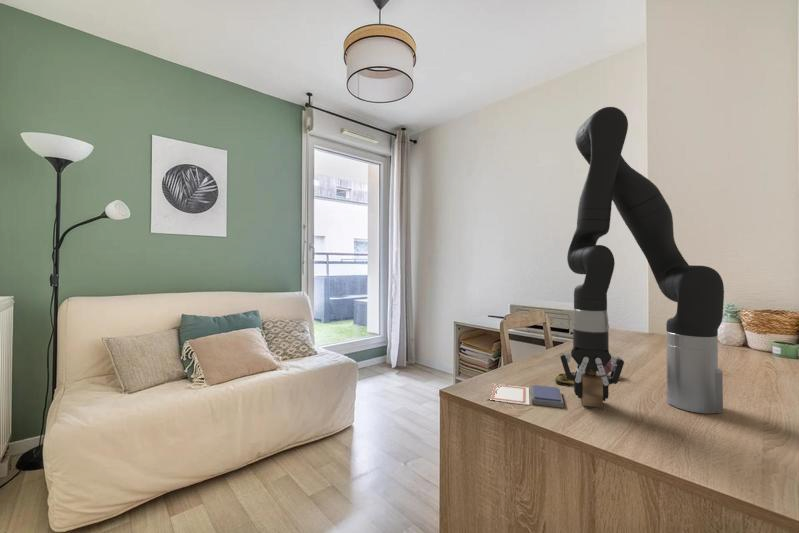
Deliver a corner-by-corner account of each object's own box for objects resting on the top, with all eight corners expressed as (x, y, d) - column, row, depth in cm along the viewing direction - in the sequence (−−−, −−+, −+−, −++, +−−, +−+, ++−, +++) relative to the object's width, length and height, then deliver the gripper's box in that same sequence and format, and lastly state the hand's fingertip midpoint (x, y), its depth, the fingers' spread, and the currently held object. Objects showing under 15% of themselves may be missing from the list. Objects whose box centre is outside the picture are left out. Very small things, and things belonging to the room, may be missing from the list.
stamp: (597, 400, 85) (597, 368, 85) (603, 409, 79) (602, 375, 79) (579, 398, 86) (579, 366, 86) (583, 407, 81) (583, 373, 81)
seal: (572, 395, 92) (610, 386, 98) (573, 378, 91) (611, 370, 97) (545, 380, 100) (581, 373, 106) (546, 365, 100) (582, 358, 106)
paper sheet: (529, 388, 93) (529, 387, 93) (529, 405, 82) (529, 404, 82) (491, 384, 97) (491, 383, 97) (486, 400, 85) (486, 398, 85)
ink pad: (559, 393, 90) (559, 386, 90) (563, 407, 80) (563, 401, 80) (531, 389, 92) (530, 383, 92) (531, 404, 83) (531, 397, 83)
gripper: (620, 326, 84) (621, 396, 84) (556, 323, 89) (557, 389, 89) (629, 332, 77) (629, 408, 77) (559, 329, 82) (559, 400, 82)
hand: (590, 398), depth 83 cm, fingers open, 4 cm apart
